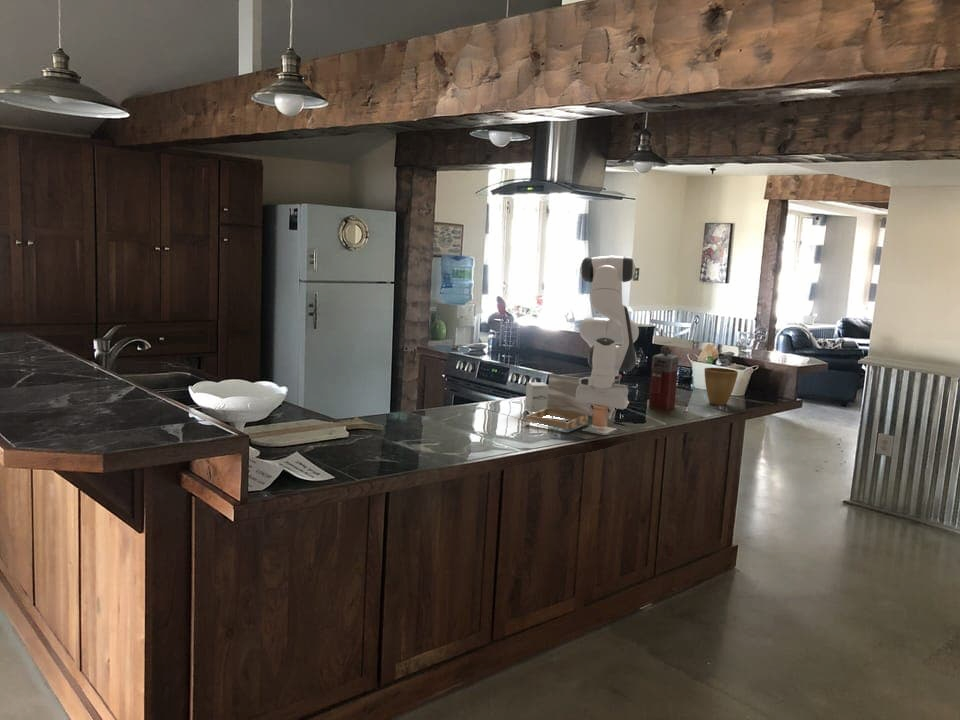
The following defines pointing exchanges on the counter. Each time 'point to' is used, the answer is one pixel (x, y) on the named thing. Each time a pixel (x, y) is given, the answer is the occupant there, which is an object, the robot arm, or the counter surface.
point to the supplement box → (536, 396)
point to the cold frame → (562, 404)
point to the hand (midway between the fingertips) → (600, 417)
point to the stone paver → (604, 429)
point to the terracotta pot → (599, 416)
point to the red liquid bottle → (663, 380)
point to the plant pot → (719, 384)
